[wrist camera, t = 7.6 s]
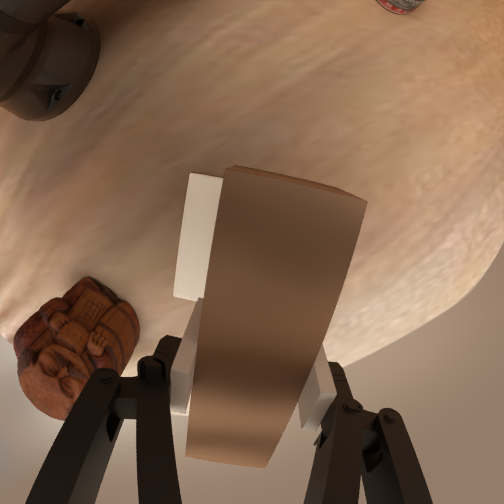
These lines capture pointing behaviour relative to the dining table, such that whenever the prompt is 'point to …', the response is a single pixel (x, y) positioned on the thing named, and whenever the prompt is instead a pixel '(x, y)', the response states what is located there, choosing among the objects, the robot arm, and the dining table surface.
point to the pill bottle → (401, 5)
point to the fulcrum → (196, 235)
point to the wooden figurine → (73, 345)
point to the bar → (265, 308)
